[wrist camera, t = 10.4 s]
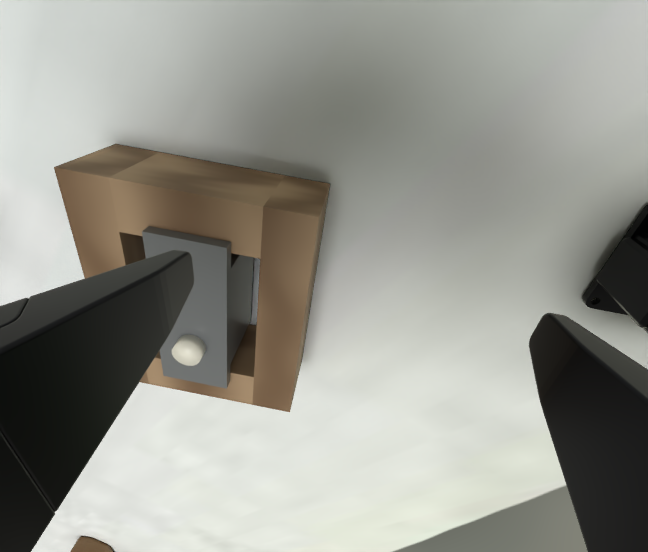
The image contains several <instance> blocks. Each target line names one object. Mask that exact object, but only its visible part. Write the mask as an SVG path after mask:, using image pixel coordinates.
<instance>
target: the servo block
mask: <svg viewBox="0 0 648 552" xmlns="http://www.w3.org/2000/svg"><path fill="white" fill-rule="evenodd" d="M142 236H143V243H144V249H145V256H146V259H147V258H150V257H153V256H156V255H159V254H162V253H165V252H168V251H171V250H180V251H186V252H189V253H190V254H191V256H192V263H193V272H194V285H193V288H192V290H191V292H190V294H189V296H188V298H187V300H186V302H185V304H184V306H183V308H182V311H181V313H180V315H179V317H178V319H177V321H176V323H175V325H174V327H173V329H172V331H171V333H170V334H169V336H168V338H167V339H166V341H165V343H164V344H163V346H162V347H161V349H160V356H161V363H162V369H163V376H167V377H172V378H177V379H182V380H187V381H192V382H196V383H201V384H206V385H211V386H216V387H221V388H226V389H227V387H228V385H229V383H230V364H231V362H232V360H233V358H234V356H235V353H236V351H237V349H238V347H239V345H240V342H241V340H242V338H243V336H244V334H245V331H246V329H247V327H248V325H249V323H250V320H251V304H252V283H253V262H254V257H248V256H243V255H238V254H233V253H231V242H229V241H223V240H218V239H213V238H208V237H203V236H198V235H193V234H188V233H182V232H177V231H172V230H167V229H162V228H157V227H152V226H148V227H147V228H145V229H144V230H143V231H142Z"/></svg>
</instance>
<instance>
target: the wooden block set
mask: <svg viewBox="0 0 648 552" xmlns="http://www.w3.org/2000/svg"><path fill="white" fill-rule="evenodd" d="M71 552H114V551H113V550H112V549H111V547H110V546H109V545H108V544H105V543H103V542H101V541H99V540H96V539H94V538H91V537H84V536H82V537H80V538H79V539H78V540H77V542H76V544H75V545H74V547H73V548H72V550H71Z"/></svg>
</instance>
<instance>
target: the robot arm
mask: <svg viewBox="0 0 648 552" xmlns="http://www.w3.org/2000/svg"><path fill="white" fill-rule="evenodd" d="M193 285H194V272H193V263H192V256H191V254H190V253H189V252H186V251H180V250H171V251H168V252H165V253H162V254H159V255H156V256H153V257H150V258H147V259H143V260H140V261H137V262H134V263H131V264H128V265H125V266H122V267H119V268H116V269H113V270H110V271H107V272H104V273H101V274H98V275H95V276H92V277H89V278H85V279H82V280H79V281H76V282H73V283H70V284H67V285H64V286H61V287H58V288H55V289H52V290H49V291H46V292H43V293H40V294H37V295H34V296H31V297H30V298H29V299H28V298H24V299H21V300H18V301H15V302H12V303H9V304H6V305H3V306H0V552H31V551H32V549H33V547H34V546H35V544H36V543H37V541H38V540H39V538H40V537H41V535H42V533H43V532H44V530H45V529H46V527H47V526H48V524H49V523H50V521H51V519H52V518H53V516H54V515H55V511H57V510H58V508H59V506H60V505H61V503H62V502H63V500H64V499H65V497H66V495H67V494H68V492H69V491H70V489H71V488H72V486H73V485H74V483H75V481H76V480H77V478H78V477H79V475H80V474H81V472H82V470H83V469H84V467H85V466H86V464H87V463H88V461H89V460H90V458H91V456H92V455H93V453H94V452H95V450H96V449H97V447H98V446H99V444H100V442H101V441H102V439H103V438H104V436H105V435H106V433H107V431H108V430H109V428H110V427H111V425H112V424H113V422H114V421H115V419H116V417H117V416H118V414H119V413H120V411H121V410H122V408H123V407H124V405H125V403H126V402H127V400H128V399H129V397H130V396H131V394H132V392H133V391H134V389H135V388H136V386H137V385H138V383H139V382H140V380H141V378H142V377H143V375H144V374H145V372H146V371H147V369H148V368H149V366H150V364H151V363H152V361H153V360H154V358H155V357H156V355H157V353H158V352H159V350H160V349H161V347H162V346H163V344H164V343H165V341H166V339H167V338H168V336H169V334H170V333H171V331H172V329H173V327H174V325H175V323H176V321H177V319H178V317H179V315H180V313H181V311H182V308H183V306H184V304H185V302H186V300H187V298H188V296H189V294H190V292H191V290H192V288H193ZM593 298H596V299H595V300H592V299H593ZM582 300H583V302H584V303H585V304H586V305H587V307H590V308H594V309H599V310H604V311H609V312H615V313H620V314H625V315H629V316H630V317H631V318H632V319H633V320H634V321H635V322H636V323H637V324H638V326H640V327H642V328H643V329H644V330H645V331H646V332H647V333H648V205H647V206H646V207H645V208H644V209H643V211H642V212H641V213H640V215H639V216H638V218H637V219H636V221H635V222H634V224H633V225H632V226H631V228H630V229H629V231H628V232H627V234H626V235H625V236H624V238H623V239H622V241H621V242H620V244H619V245H618V247H617V248H616V249H615V251H614V252H613V254H612V255H611V257H610V258H609V259H608V261H607V262H606V264H605V265H604V267H603V268H602V270H601V271H600V272H599V274H598V275H597V277H596V278H595V280H594V281H593V282H592V284H591V285H590V287H589V288H588V290H587V291H586V293H585V294H584V295H583V298H582ZM591 300H592V301H591ZM529 348H530V353H531V359H532V364H533V369H534V374H535V379H536V384H537V389H538V394H539V398H540V402H541V406H542V409H543V413H544V416H545V419H546V422H547V425H548V428H549V431H550V435H551V438H552V441H553V444H554V447H555V450H556V453H557V456H558V460H559V463H560V466H561V469H562V472H563V475H564V478H565V482H566V485H567V487H568V491H569V494H570V497H571V500H572V503H573V506H574V510H575V513H576V516H577V519H578V522H579V525H580V529H581V532H582V534H583V538H584V541H585V544H586V547H587V550H588V552H648V369H646V368H645V367H643V366H642V365H640V364H638V363H637V362H635V361H634V360H632V359H631V358H629V357H628V356H626V355H625V354H623V353H622V352H620V351H619V350H617V349H616V348H614V347H612V346H611V345H609V344H608V343H606V342H605V341H603V340H602V339H600V338H599V337H597V336H596V335H594V334H593V333H591V332H590V331H588V330H587V329H585V328H583V327H582V326H580V325H579V324H577V323H576V322H574V321H573V320H571V319H570V318H568V317H567V316H564V315H559V314H553V313H547V314H545V315H544V316H543V317H542V318H541V320H540V322H539V323H538V325H537V327H536V329H535V330H534V332H533V334H532V335H531V338H530V341H529Z"/></svg>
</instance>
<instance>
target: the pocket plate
mask: <svg viewBox="0 0 648 552" xmlns="http://www.w3.org/2000/svg"><path fill="white" fill-rule="evenodd" d="M54 169H55V173H56V176H57V180H58V184H59V187H60V191H61V194H62V198H63V201H64V205H65V209H66V212H67V216H68V219H69V223H70V227H71V230H72V234H73V237H74V241H75V245H76V248H77V252H78V255H79V259H80V263H81V266H82V270H83V273H84V277H85V278H89V277H92V276H95V275H98V274H101V273H104V272H107V271H110V270H113V269H116V268H119V267H122V266H125V265H128V264H131V263H134V262H137V261H140V260H143V259H146V256H145V249H144V243H143V236H142V231H143V230H144V229H145V228H147V227H148V226H152V227H157V228H162V229H167V230H172V231H177V232H182V233H188V234H193V235H198V236H203V237H208V238H213V239H218V240H223V241H229V242H231V253H233V254H238V255H243V256H248V257H254V258H259V259H260V274H259V293H258V311H257V326H255V325H250V324H249V325H248V327H247V329H246V331H245V334H244V336H243V338H242V340H241V342H240V345H239V347H238V349H237V351H236V353H235V356H234V358H233V360H232V362H231V364H230V383H229V385H228V387H227V389H226V388H221V387H216V386H211V385H206V384H201V383H196V382H192V381H187V380H182V379H177V378H172V377H167V376H163V369H162V363H161V356H160V350H159V352H158V353H157V355H156V357H155V358H154V360H153V361H152V363H151V364H150V366H149V368H148V369H147V371H146V372H145V374H144V375H143V377H142V378H141V380H140V382H142V383H147V384H152V385H157V386H162V387H167V388H172V389H177V390H182V391H187V392H192V393H197V394H202V395H207V396H212V397H217V398H222V399H227V400H232V401H237V402H242V403H247V404H252V405H257V406H262V407H267V408H272V409H277V410H282V411H287V412H290V409H291V404H292V400H293V396H294V392H295V387H296V383H297V379H298V375H299V370H300V366H301V362H302V356H303V350H304V343H305V337H306V331H307V325H308V319H309V312H310V306H311V300H312V294H313V287H314V281H315V275H316V269H317V263H318V256H319V250H320V244H321V238H322V231H323V225H324V219H325V213H326V207H327V200H328V194H329V188H330V184H328V183H323V182H318V181H312V180H307V179H301V178H296V177H291V176H285V175H280V174H275V173H269V172H264V171H258V170H253V169H248V168H242V167H237V166H232V165H226V164H221V163H215V162H210V161H205V160H199V159H194V158H188V157H183V156H178V155H172V154H167V153H162V152H156V151H151V150H145V149H140V148H135V147H129V146H124V145H119V144H114V145H112V146H109V147H106V148H104V149H101V150H98V151H96V152H93V153H91V154H88V155H85V156H83V157H80V158H77V159H75V160H72V161H69V162H67V163H64V164H61V165H59V166H56V167H54Z"/></svg>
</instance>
